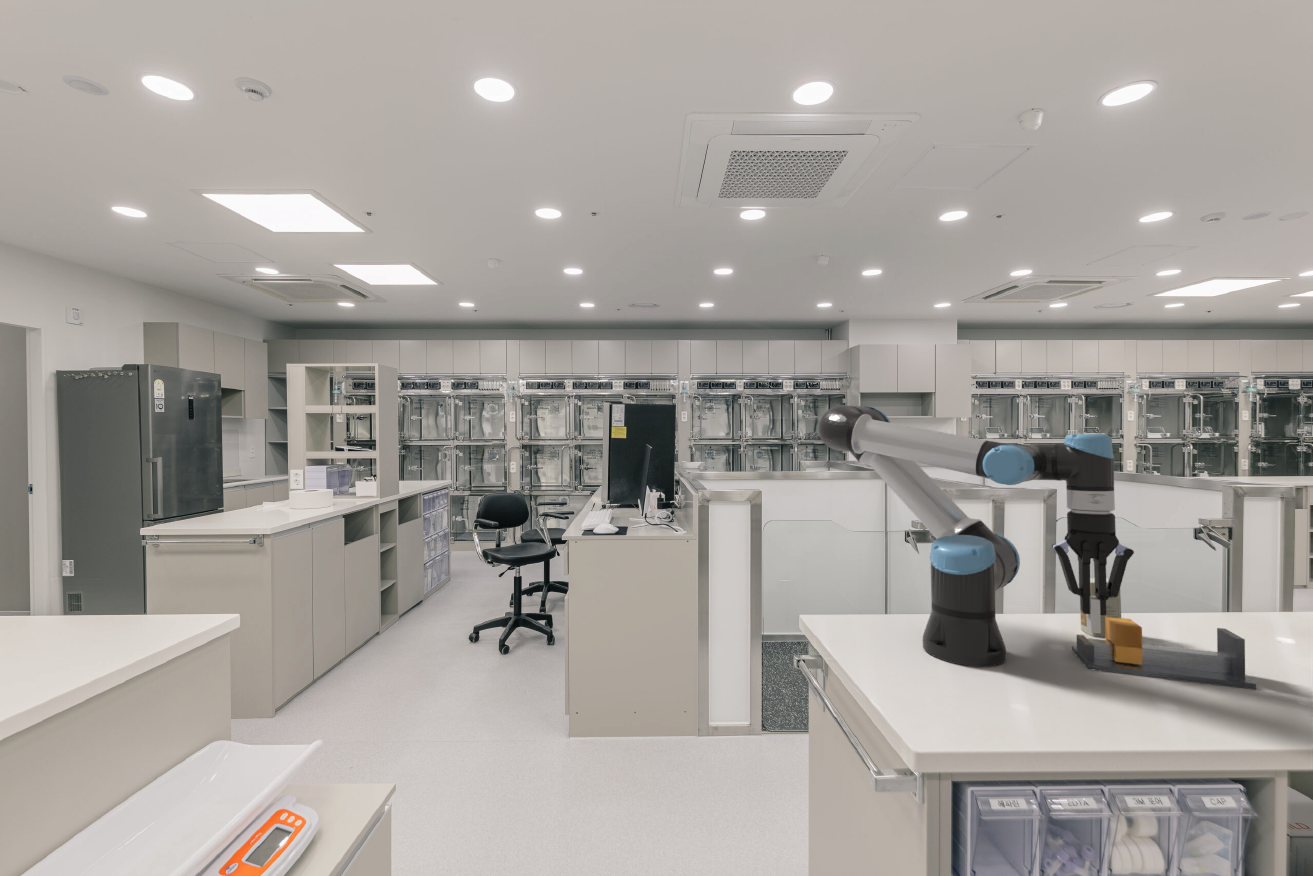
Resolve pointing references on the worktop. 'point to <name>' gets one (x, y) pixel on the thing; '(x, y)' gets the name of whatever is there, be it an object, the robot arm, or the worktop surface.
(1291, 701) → the worktop surface
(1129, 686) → the worktop surface
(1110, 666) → the rail
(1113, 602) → the skincare box
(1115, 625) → the orange slider block
